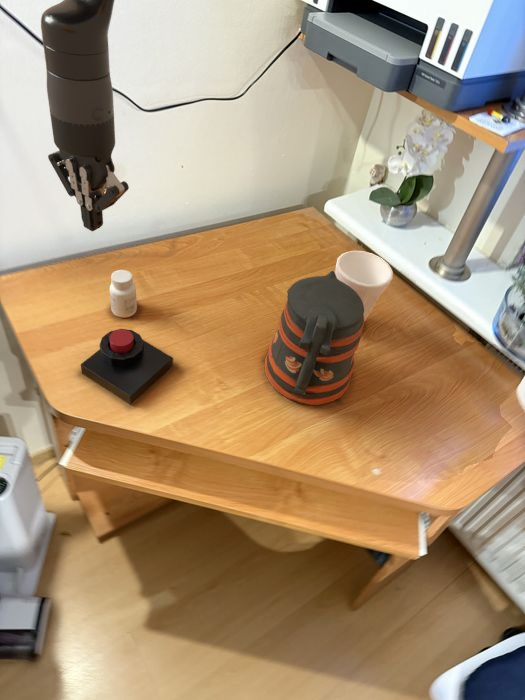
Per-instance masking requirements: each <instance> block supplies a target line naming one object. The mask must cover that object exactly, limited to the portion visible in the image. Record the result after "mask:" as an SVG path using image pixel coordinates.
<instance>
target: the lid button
mask: <svg viewBox="0 0 525 700" xmlns="http://www.w3.org/2000/svg"><path fill="white" fill-rule="evenodd" d="M120 329H121V330H118V329H115V330H116V331H114V330H113V331H114V332H112V333H111V335H110V337H109V341H110V348H111V349H112V351H114V352H116V353H121V354H123V353H127V352H129V351H131V350H132V348H133V346H134V341H133V335H132V333H131V332H130V331H127V330H128V329H127V330H123V329H124V328H120Z"/></svg>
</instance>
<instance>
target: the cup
mask: <svg viewBox="0 0 525 700" xmlns="http://www.w3.org/2000/svg"><path fill="white" fill-rule="evenodd" d="M334 272H335V275H336V277H337V279H338V280H340V281H341V282H343V283H345V284H346V285H348V286H349V287H351V288H352V289H353V290H354V291H356V293H357V294H358V295H359V296H360V298H361V300H362V302H363V305H364V320H365V321H364V323H365V322H366V320H367V319H368V317H369V315H370V314H371V312H372V311H373V309H374V307H375V306H376V304H377V302H378V300H379V299H380V297H381V295H382V294H383V293H384V292H385V291H386V290H387V288H388V287H389V286H390V284H391V282H392V281H393V277H394V271H393V269H392V267H391V266H390V264H389V263H388V262H387V261H386V260H384V259H383V258H382V257H381V256H378V255H377V254H375V253H371V252H368V251H364V250H350V251H346V252H343V253H342V254H340V255H339V256H338V257H337V259H336V264H335V268H334Z"/></svg>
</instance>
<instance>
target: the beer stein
mask: <svg viewBox="0 0 525 700" xmlns="http://www.w3.org/2000/svg"><path fill="white" fill-rule="evenodd" d="M286 298H287V300H286V301H285V305H284V308H283V310H282V312H281V313H280V314H281V315H280V317H279V319H278V328H277V330H276V333H275V335H274V336H273V337H272V339H271V341H270V343H269V346H268V350H267V354H266V356H265V358H264V371H265V372H264V373H265V375H266V378H267V380H268V382H269V383H270V385H271V386H272V388H274V389H275V391H276V392H277V393H278V394H280V395H281V396H283V397H284V398H286V399H288V400H291V401H293V402H296V403H298V404H305V405H311V406H319V405H323V404H328V403H332V402H334V401H336V400H337V399H340V398H341V397H342V396H343V395H344V394H345V393H346V391H348V388H349V386H350V383H351V379H352V374H353V371H354V368H355V353H356V352H357V350H358V348H359V346H360V343H361V340H362V334H363V330H364V326H365V322H366V320H364V305H363V302H362V300H361V298H360V296H359V295H358V294H357V293H356V291H354V290H353V289H352V288H351V287H349V286H348V285H346V284H345V283H343V282H341V281H340V280H338V279H337V277H336V275H335V270H331V271H330V272H328V273H327V274H326V275H315V276H309V277H305V278H302V279H298V280H297V281H295V282H294V283H293V284H291V286H290V287H289V288H288V290H287V295H286ZM364 321H365V322H364Z"/></svg>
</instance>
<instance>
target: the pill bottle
mask: <svg viewBox="0 0 525 700" xmlns="http://www.w3.org/2000/svg"><path fill="white" fill-rule="evenodd" d="M133 279H134V278H133V273H132V272H130V271H129V270H127V269H117V270H115V271H113V272H112V273H111V275H110V281H111V283H110V285H109V289H108V290H109V299H110V309H111V312H112V314H113V316H116V317H118V318H129V317H132V316H133V315H135V314H136V312H137V310H138V304H137V288H136V287H137V286H136V285H135V284H136V283H134V280H133Z"/></svg>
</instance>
